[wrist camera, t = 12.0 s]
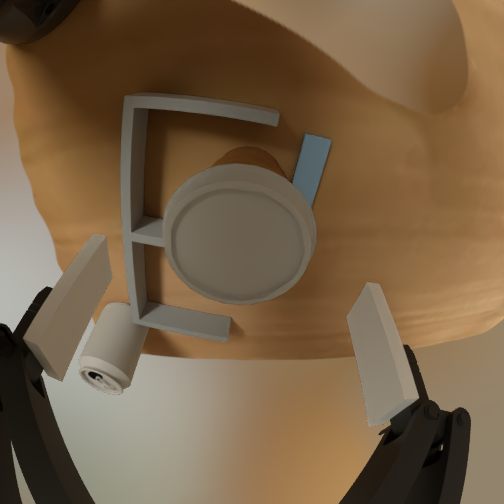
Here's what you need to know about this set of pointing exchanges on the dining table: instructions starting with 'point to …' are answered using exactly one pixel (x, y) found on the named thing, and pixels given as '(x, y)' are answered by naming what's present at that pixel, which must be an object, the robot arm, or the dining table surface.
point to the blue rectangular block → (310, 165)
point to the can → (112, 350)
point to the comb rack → (149, 228)
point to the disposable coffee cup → (239, 230)
